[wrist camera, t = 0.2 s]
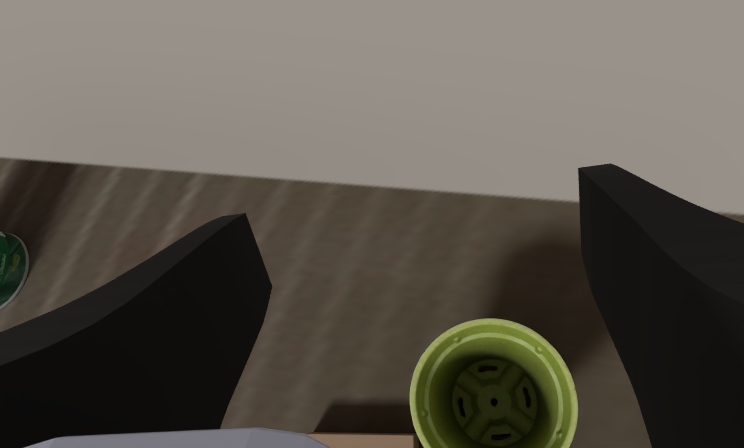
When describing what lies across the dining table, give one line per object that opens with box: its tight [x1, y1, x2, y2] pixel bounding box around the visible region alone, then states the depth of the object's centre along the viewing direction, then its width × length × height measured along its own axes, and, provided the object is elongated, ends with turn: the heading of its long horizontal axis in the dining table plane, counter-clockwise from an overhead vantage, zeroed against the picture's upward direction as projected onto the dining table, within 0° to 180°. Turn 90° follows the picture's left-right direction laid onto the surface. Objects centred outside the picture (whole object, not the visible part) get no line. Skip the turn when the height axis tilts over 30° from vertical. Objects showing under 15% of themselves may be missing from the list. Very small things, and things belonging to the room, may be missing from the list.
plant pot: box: [410, 318, 578, 448], centre depth 36 cm, size 9×9×9 cm
